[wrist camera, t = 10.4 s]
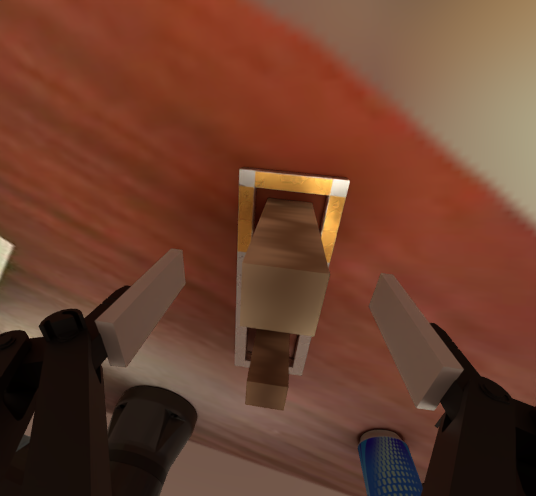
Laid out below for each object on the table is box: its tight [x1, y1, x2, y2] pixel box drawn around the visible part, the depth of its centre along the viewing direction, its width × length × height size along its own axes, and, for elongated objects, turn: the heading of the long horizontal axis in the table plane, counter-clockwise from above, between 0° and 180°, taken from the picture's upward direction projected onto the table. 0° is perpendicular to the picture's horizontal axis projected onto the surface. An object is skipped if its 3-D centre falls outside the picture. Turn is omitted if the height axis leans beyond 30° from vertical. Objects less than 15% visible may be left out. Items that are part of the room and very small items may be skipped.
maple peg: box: [240, 198, 330, 337], centre depth 18 cm, size 4×4×13 cm
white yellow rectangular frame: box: [235, 167, 350, 376], centre depth 27 cm, size 10×28×2 cm, turn 175°
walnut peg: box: [245, 329, 290, 410], centre depth 29 cm, size 4×4×8 cm
